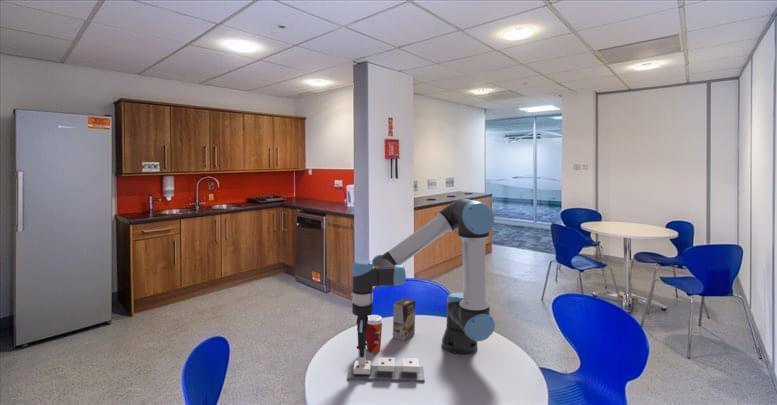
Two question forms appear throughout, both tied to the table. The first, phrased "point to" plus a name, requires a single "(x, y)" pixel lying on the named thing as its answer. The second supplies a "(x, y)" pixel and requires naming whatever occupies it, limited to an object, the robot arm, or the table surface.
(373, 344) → the paper cup
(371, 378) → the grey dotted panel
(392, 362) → the tile
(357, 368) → the tile
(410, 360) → the tile
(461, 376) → the table surface
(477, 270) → the robot arm
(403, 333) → the coffee box
